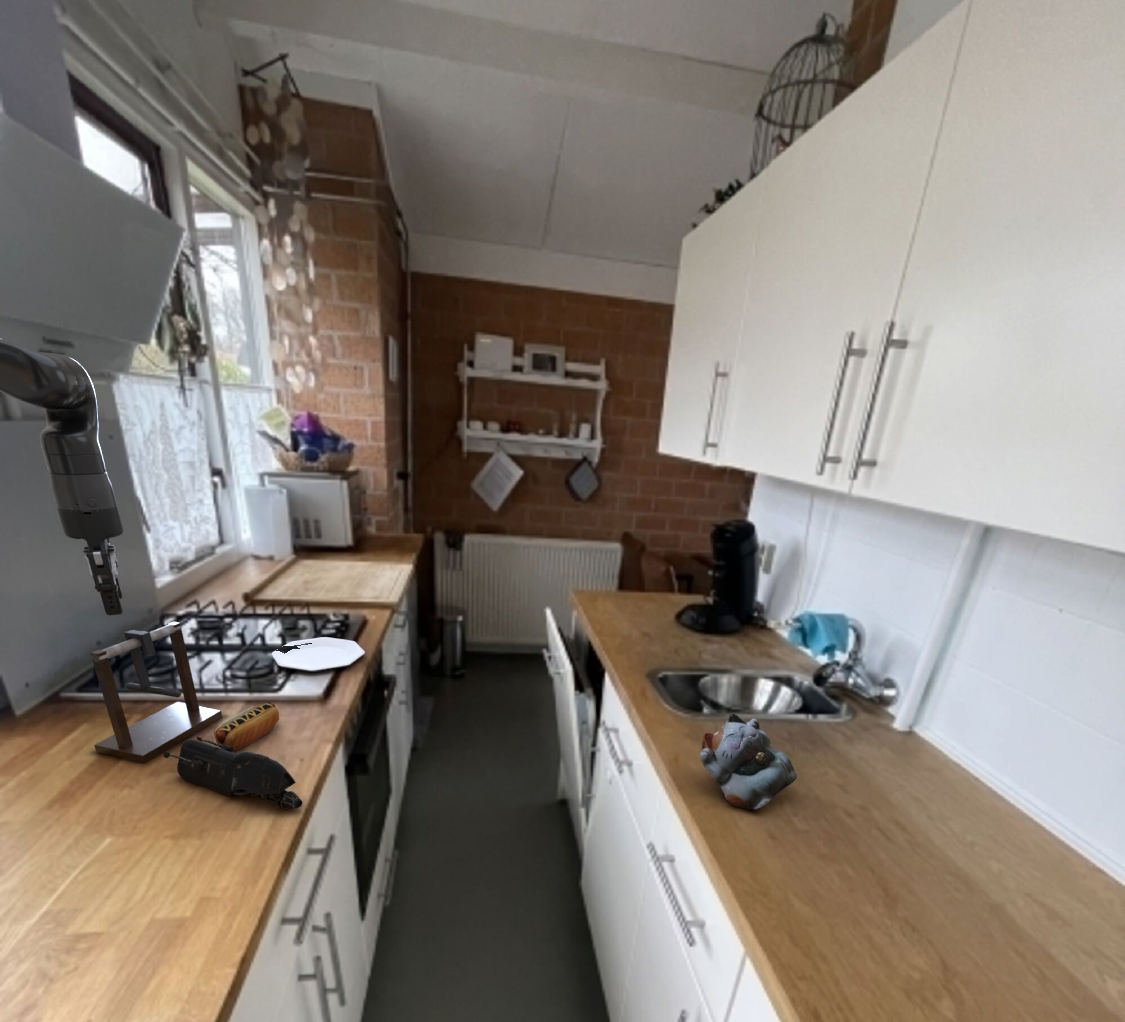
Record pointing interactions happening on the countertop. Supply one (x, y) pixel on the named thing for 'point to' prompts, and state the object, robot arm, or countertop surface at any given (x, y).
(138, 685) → the hanger
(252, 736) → the hot dog
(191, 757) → the black toy vehicle
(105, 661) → the rail stand
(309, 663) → the plate
